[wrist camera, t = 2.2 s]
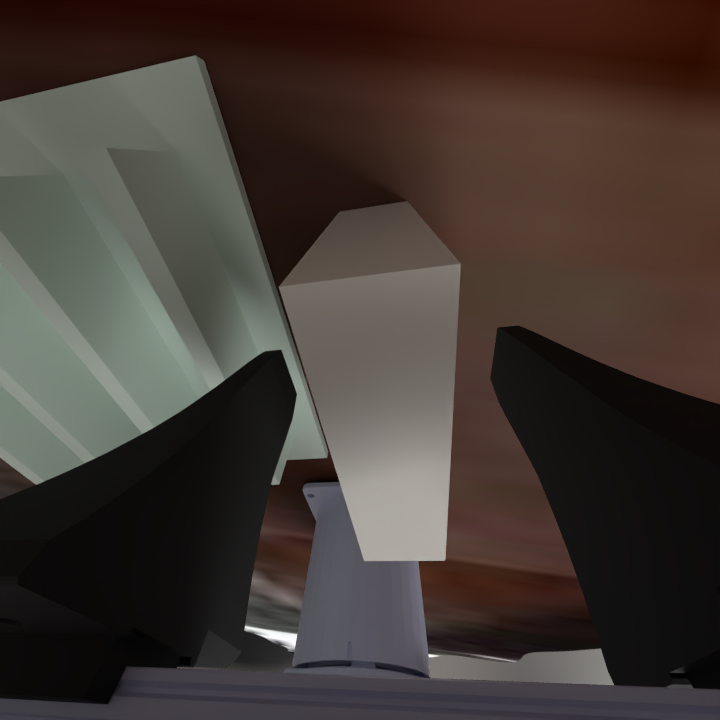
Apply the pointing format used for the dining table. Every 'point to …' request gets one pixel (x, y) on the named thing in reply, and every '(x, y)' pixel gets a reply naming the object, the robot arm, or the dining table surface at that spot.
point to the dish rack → (127, 268)
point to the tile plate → (382, 371)
